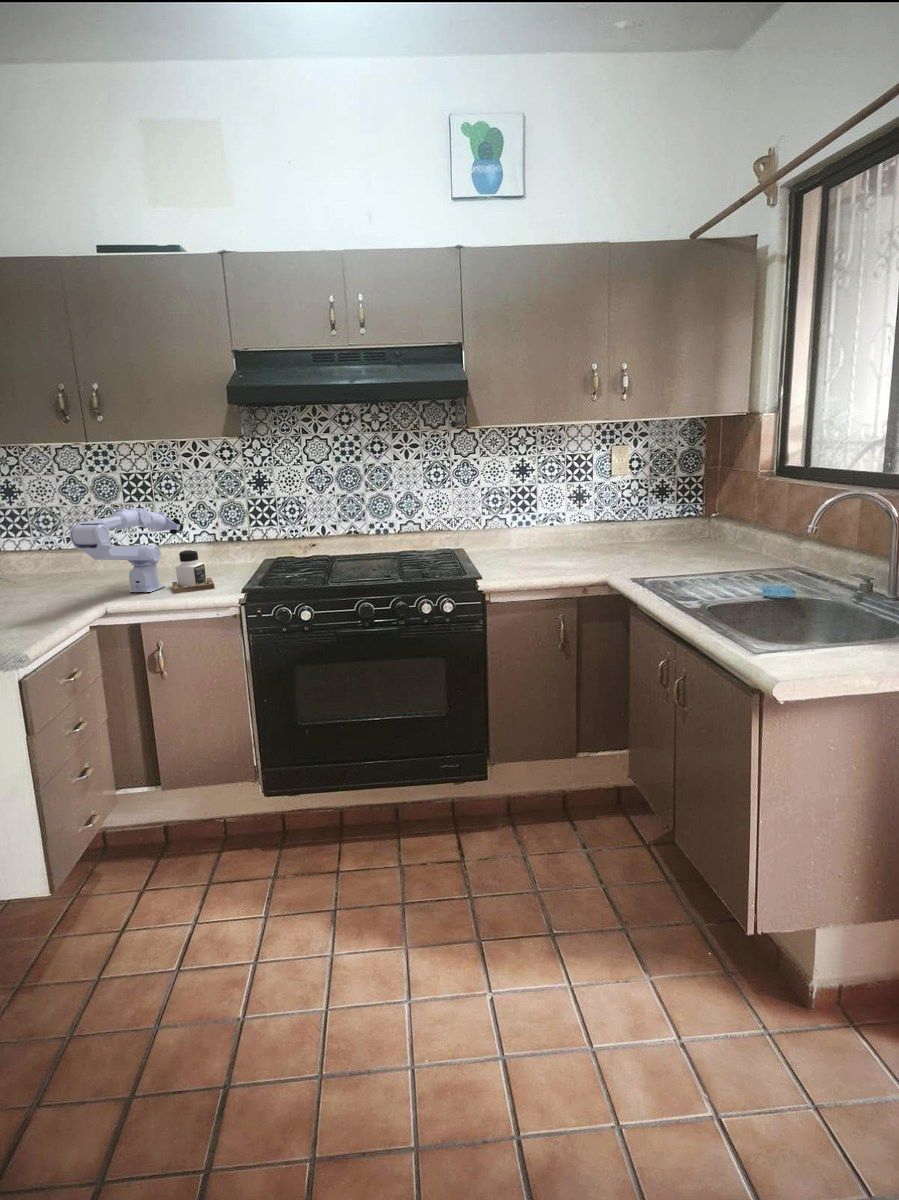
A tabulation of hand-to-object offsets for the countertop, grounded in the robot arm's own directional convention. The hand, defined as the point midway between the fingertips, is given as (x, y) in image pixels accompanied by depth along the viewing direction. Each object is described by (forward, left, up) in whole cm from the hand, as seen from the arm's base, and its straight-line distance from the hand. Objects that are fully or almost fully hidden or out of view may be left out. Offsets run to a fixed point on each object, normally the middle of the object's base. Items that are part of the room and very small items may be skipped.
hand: (173, 525), depth 280 cm
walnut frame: (-17, -15, -19) cm, 30 cm away
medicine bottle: (-13, -12, -19) cm, 26 cm away
